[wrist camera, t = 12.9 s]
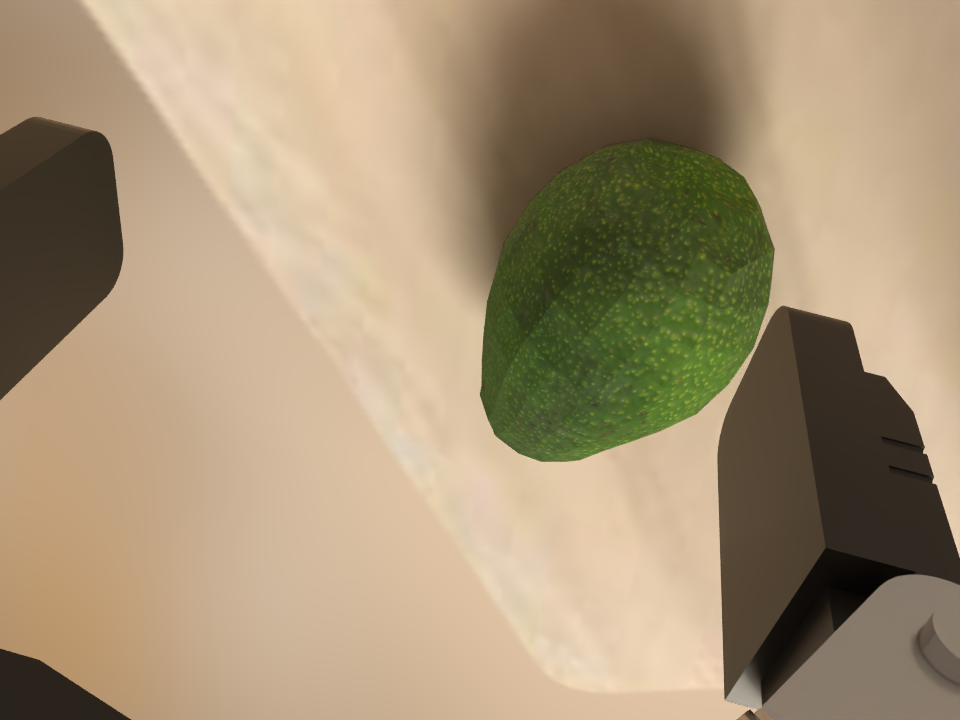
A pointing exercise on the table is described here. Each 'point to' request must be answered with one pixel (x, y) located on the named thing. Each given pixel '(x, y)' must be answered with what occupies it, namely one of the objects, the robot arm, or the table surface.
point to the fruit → (623, 300)
